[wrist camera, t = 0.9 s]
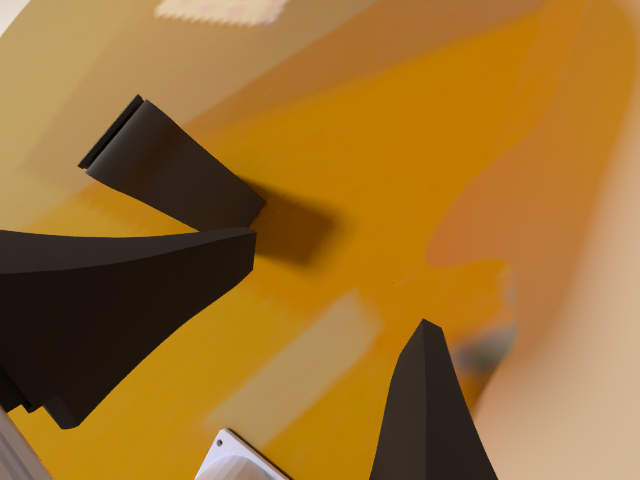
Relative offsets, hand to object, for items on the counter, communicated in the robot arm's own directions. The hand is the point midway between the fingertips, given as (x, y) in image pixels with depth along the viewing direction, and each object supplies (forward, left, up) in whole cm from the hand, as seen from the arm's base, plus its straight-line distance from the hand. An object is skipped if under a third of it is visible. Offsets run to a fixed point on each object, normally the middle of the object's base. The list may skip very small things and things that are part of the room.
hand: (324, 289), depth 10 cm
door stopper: (+2, +17, -13) cm, 21 cm away
